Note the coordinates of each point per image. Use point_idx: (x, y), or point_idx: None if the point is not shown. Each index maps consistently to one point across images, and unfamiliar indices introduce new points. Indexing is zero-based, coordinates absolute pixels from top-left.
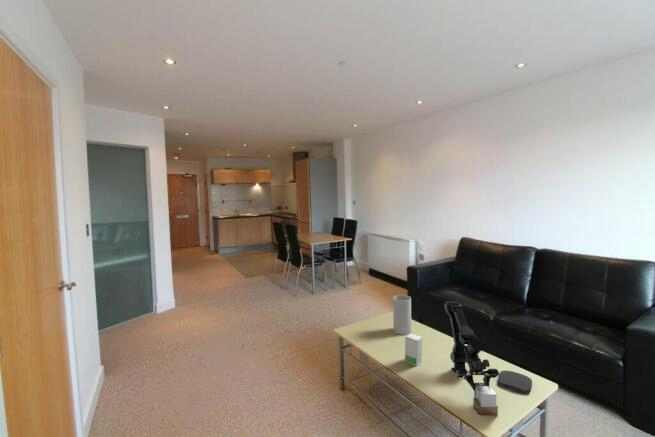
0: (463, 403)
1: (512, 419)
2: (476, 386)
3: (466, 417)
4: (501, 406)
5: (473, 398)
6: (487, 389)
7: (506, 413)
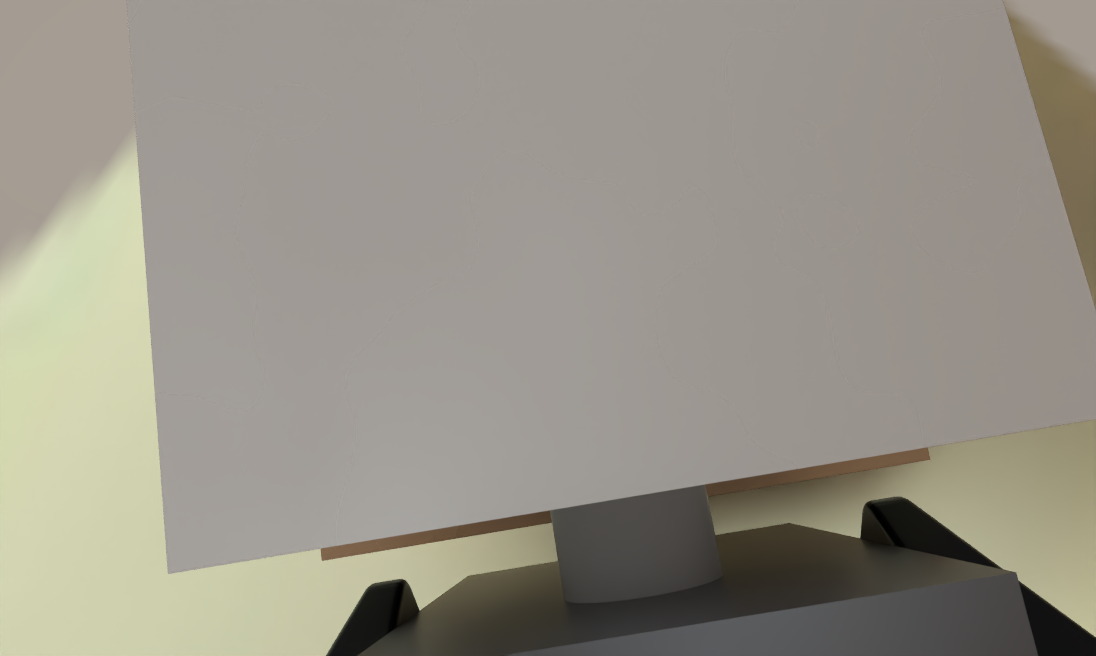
0: (1058, 579)
1: (108, 210)
2: (1079, 394)
3: (1032, 86)
4: (166, 620)
5: (920, 452)
6: (450, 195)
7: (152, 380)
